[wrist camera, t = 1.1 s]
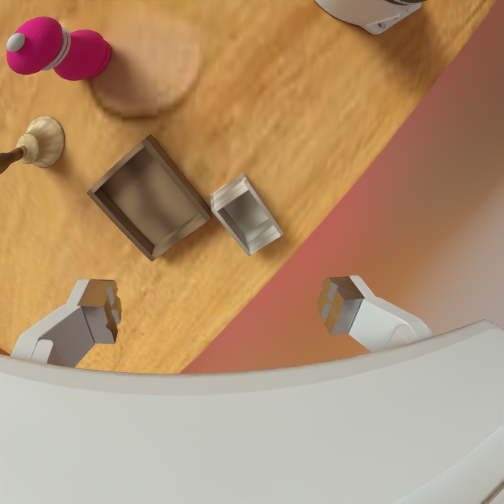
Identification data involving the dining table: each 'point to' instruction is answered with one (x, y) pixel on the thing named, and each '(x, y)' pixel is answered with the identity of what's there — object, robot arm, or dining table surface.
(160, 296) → the dining table surface
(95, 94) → the dining table surface
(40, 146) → the hand bell
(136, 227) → the big crate
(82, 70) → the pepper mill
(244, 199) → the small crate
